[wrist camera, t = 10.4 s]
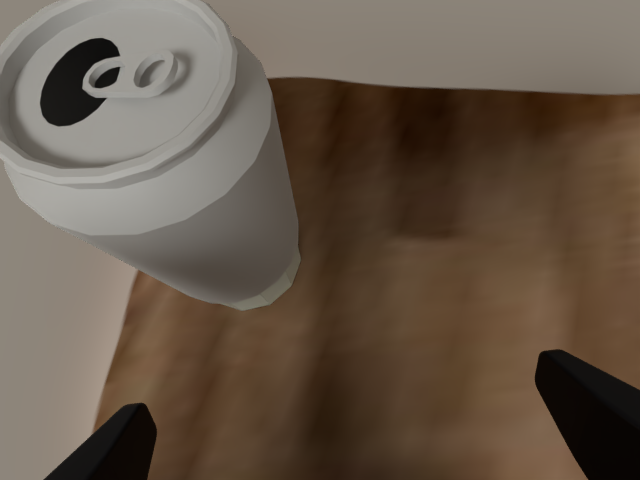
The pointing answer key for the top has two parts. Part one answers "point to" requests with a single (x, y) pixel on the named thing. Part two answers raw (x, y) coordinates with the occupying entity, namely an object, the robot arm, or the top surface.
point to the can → (150, 142)
